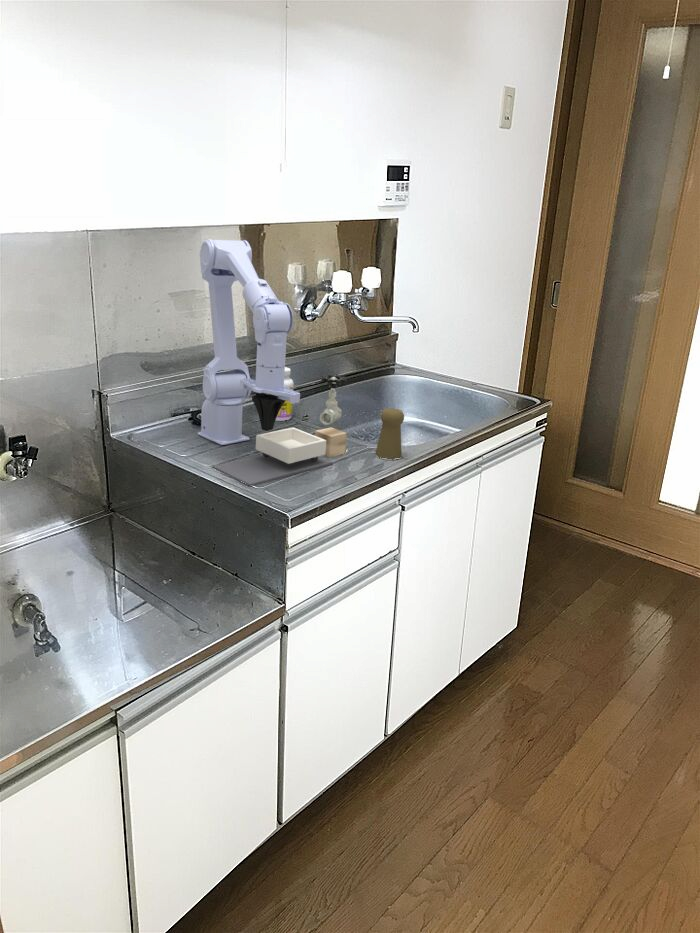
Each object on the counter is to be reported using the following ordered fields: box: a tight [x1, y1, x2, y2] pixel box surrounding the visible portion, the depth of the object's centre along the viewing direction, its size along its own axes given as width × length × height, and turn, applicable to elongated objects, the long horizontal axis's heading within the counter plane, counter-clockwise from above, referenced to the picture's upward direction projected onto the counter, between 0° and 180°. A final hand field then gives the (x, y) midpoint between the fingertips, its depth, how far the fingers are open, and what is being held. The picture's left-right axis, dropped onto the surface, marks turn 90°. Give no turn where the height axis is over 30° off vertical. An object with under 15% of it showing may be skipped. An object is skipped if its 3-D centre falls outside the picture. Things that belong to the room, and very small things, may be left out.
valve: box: [319, 373, 347, 427], centre depth 195 cm, size 7×7×12 cm
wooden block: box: [314, 426, 348, 459], centre depth 175 cm, size 5×5×5 cm
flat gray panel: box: [212, 454, 333, 487], centre depth 165 cm, size 12×23×1 cm, turn 136°
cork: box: [375, 407, 405, 459], centre depth 176 cm, size 6×6×11 cm
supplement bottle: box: [275, 366, 294, 422], centre depth 196 cm, size 7×7×13 cm
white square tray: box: [255, 426, 327, 468], centre depth 167 cm, size 11×11×5 cm
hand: (267, 429), depth 160 cm, fingers closed
